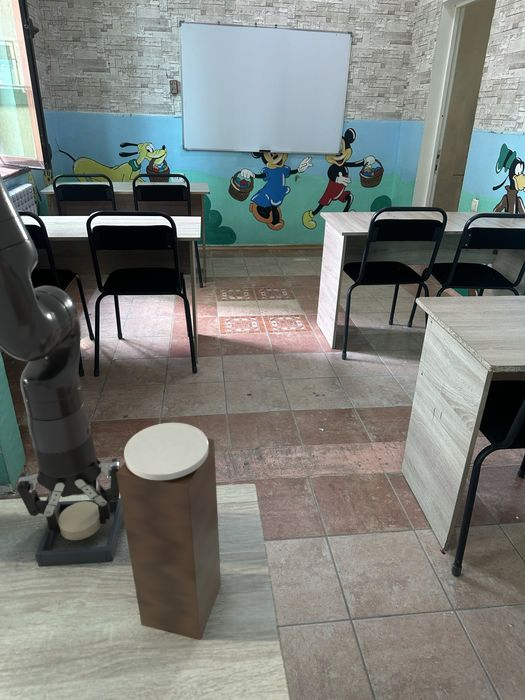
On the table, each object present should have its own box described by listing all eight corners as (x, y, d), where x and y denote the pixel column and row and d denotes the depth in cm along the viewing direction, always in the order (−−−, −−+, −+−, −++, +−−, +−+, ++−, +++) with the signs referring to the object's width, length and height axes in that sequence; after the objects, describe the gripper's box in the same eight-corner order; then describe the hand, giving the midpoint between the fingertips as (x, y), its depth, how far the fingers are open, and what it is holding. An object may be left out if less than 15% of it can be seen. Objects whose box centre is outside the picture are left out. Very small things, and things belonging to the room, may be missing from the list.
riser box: (142, 631, 61) (116, 473, 50) (168, 578, 68) (150, 428, 57) (201, 646, 60) (188, 486, 48) (221, 590, 67) (214, 439, 55)
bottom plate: (109, 475, 50) (107, 466, 49) (148, 425, 57) (147, 417, 57) (191, 490, 48) (190, 481, 47) (219, 437, 55) (219, 428, 55)
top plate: (52, 538, 71) (49, 527, 70) (75, 509, 76) (73, 498, 75) (88, 547, 70) (86, 535, 68) (110, 516, 75) (107, 505, 74)
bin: (40, 572, 69) (35, 555, 67) (61, 518, 78) (56, 501, 77) (113, 567, 70) (110, 550, 68) (125, 514, 79) (123, 497, 78)
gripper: (116, 411, 70) (129, 498, 78) (8, 426, 66) (33, 516, 74) (117, 441, 64) (131, 533, 71) (-2, 460, 60) (25, 554, 67)
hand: (81, 524), depth 72 cm, fingers closed on top plate, 6 cm apart
